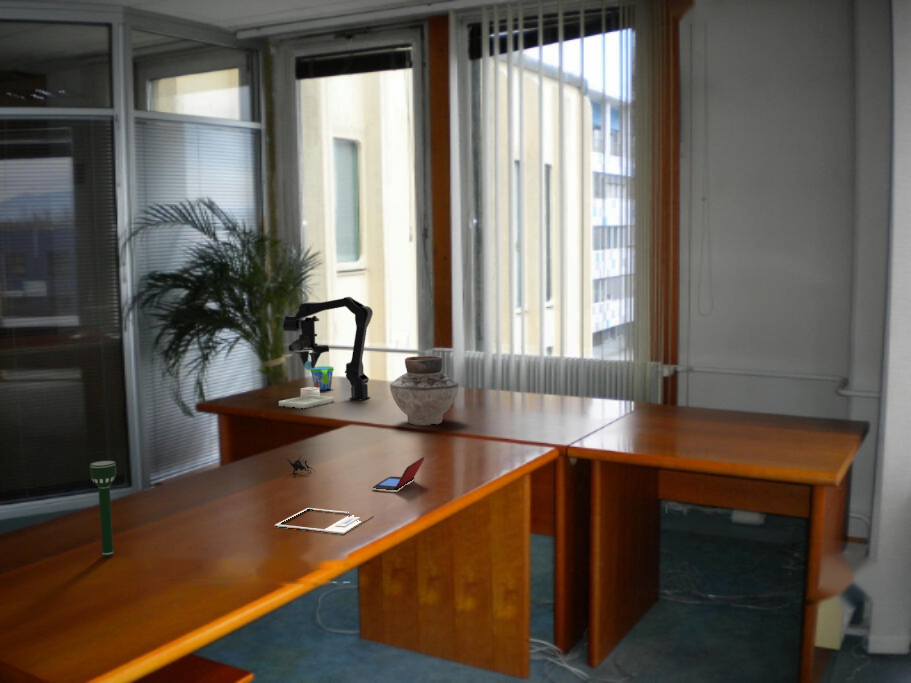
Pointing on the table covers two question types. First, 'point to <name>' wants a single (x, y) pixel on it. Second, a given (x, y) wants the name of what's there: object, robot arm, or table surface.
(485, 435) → the table surface
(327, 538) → the table surface
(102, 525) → the flashlight
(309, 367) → the ball
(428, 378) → the ceramic pot
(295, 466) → the creature
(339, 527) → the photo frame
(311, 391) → the cup
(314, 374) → the snack cup
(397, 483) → the handheld game console
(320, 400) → the tray
